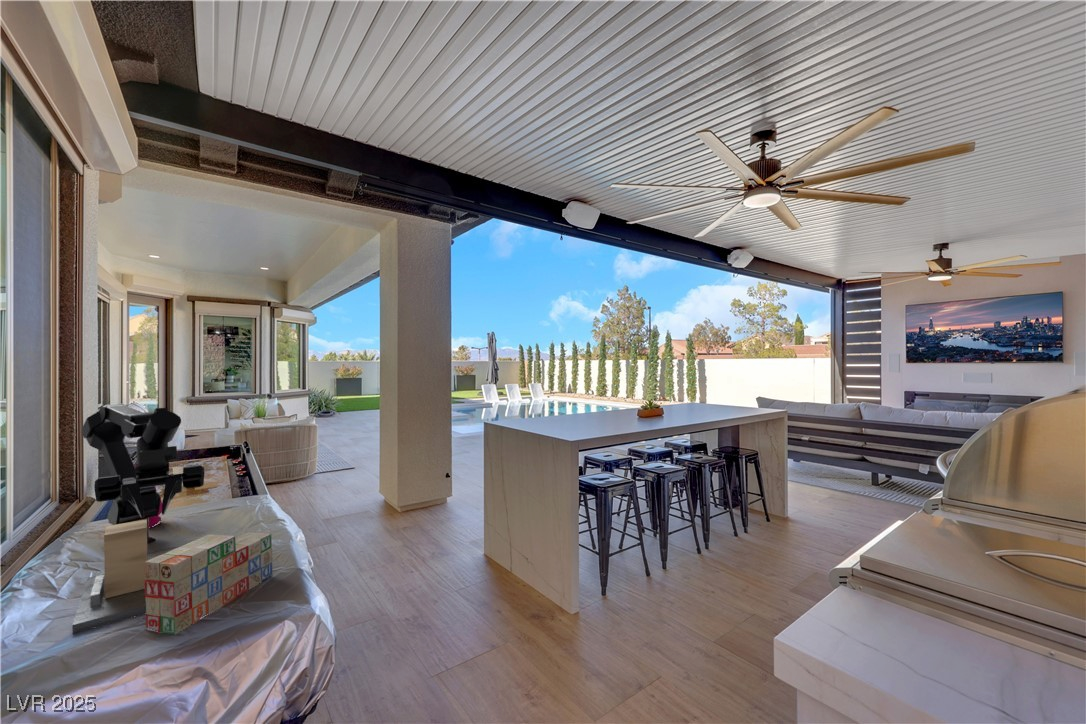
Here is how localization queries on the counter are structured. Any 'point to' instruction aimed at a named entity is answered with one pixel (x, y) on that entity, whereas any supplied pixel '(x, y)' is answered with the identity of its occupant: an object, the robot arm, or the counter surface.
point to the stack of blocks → (203, 578)
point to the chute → (106, 606)
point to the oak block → (125, 557)
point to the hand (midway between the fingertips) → (152, 515)
